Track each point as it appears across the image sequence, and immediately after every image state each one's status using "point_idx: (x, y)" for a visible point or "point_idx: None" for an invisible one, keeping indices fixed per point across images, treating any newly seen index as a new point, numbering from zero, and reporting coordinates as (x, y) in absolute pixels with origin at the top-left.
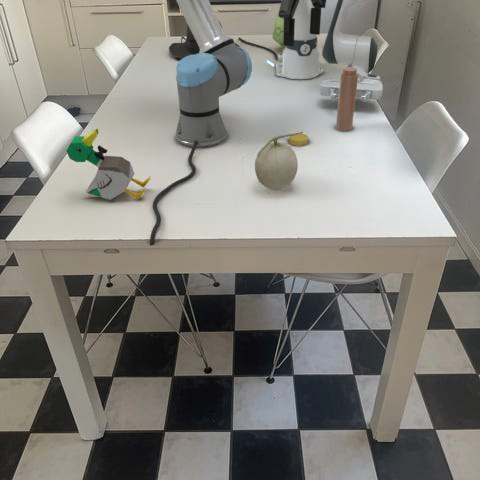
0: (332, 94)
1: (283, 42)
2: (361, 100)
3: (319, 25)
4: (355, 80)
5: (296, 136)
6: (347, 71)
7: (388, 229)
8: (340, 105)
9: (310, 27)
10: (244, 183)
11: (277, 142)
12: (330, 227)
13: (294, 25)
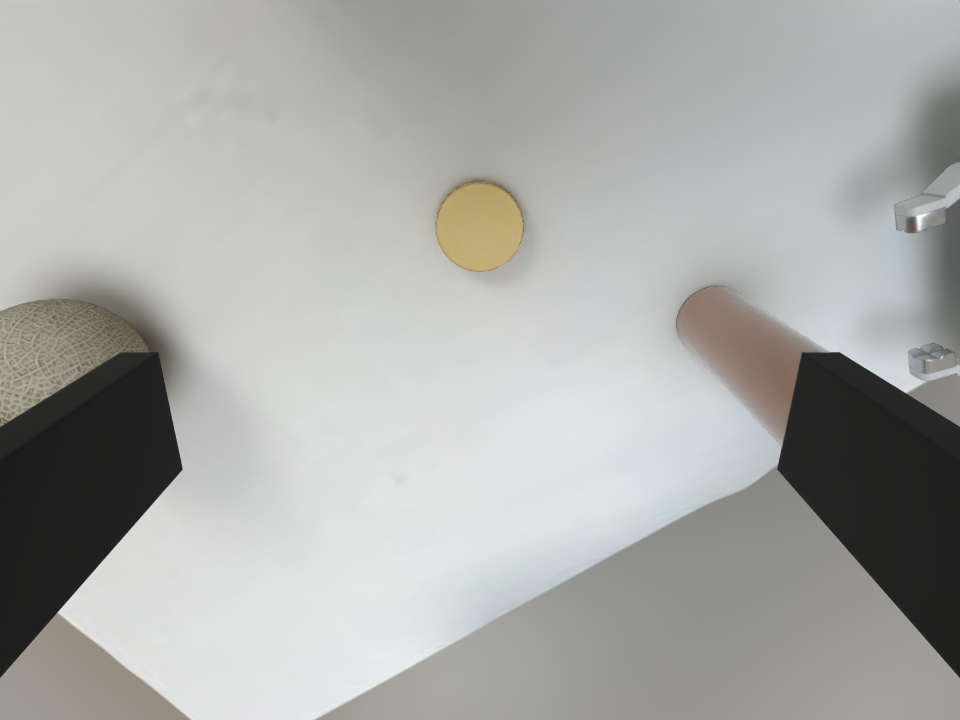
0: (910, 213)
1: (102, 366)
2: (909, 355)
3: (854, 541)
4: None
5: (477, 217)
6: None
7: (163, 669)
8: (722, 347)
9: (846, 393)
10: (44, 244)
11: (12, 413)
12: None
13: (12, 657)
